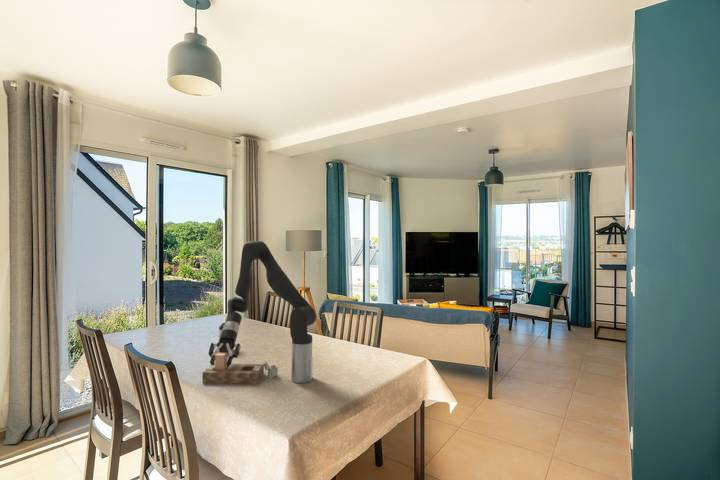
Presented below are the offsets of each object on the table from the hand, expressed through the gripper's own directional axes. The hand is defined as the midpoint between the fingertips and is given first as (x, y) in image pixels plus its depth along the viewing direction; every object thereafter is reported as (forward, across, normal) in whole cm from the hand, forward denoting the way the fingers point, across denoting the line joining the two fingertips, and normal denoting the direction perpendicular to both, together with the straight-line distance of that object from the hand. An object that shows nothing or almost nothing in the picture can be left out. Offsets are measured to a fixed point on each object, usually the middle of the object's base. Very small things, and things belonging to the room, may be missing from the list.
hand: (219, 365), depth 167 cm
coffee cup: (-26, -13, +36) cm, 46 cm away
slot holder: (+3, +6, +6) cm, 9 cm away
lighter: (+2, +22, +7) cm, 23 cm away
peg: (+3, 0, +5) cm, 6 cm away
